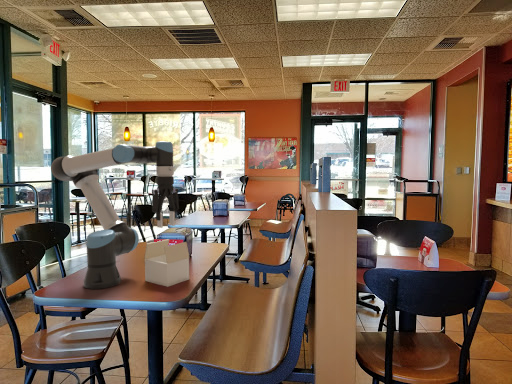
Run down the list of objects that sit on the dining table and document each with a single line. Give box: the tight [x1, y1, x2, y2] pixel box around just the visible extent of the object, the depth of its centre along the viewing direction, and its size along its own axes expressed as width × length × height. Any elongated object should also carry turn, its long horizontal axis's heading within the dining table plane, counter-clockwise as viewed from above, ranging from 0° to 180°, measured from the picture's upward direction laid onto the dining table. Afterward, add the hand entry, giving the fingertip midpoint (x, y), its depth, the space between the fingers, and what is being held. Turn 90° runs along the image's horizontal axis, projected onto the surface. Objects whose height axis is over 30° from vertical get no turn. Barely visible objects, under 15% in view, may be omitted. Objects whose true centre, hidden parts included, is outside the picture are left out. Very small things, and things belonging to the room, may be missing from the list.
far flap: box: [143, 238, 170, 260], centre depth 167 cm, size 13×8×1 cm
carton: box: [144, 254, 190, 288], centre depth 163 cm, size 13×15×10 cm
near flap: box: [164, 241, 191, 264], centre depth 159 cm, size 13×8×1 cm
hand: (166, 226), depth 162 cm, fingers open, 6 cm apart
